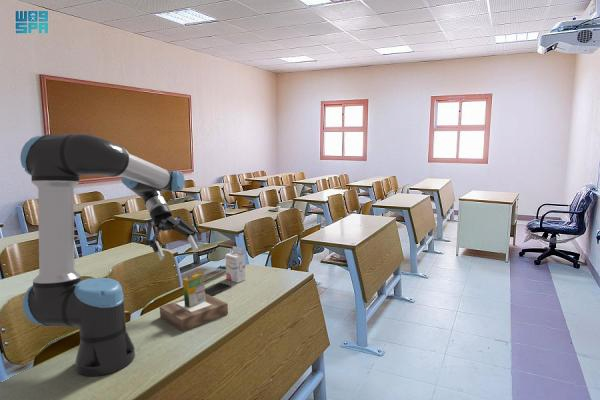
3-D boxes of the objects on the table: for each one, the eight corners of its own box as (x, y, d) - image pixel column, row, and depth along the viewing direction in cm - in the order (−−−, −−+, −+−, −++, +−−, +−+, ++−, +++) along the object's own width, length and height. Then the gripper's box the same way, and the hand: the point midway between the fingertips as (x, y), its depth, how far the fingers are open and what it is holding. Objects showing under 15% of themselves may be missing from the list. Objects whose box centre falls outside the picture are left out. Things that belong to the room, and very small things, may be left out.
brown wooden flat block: (182, 331, 130) (181, 318, 129) (160, 317, 141) (159, 305, 140) (228, 314, 142) (227, 302, 142) (204, 302, 153) (203, 291, 153)
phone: (192, 293, 161) (219, 282, 174) (193, 296, 162) (219, 285, 174) (206, 297, 157) (232, 285, 169) (206, 299, 157) (232, 288, 169)
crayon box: (200, 299, 145) (198, 268, 144) (205, 300, 144) (204, 270, 142) (184, 305, 140) (181, 274, 138) (189, 307, 138) (187, 275, 136)
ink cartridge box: (225, 279, 180) (224, 247, 178) (234, 276, 184) (232, 245, 182) (237, 283, 175) (235, 250, 173) (246, 280, 178) (244, 248, 176)
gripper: (185, 212, 166) (206, 252, 157) (124, 221, 149) (144, 267, 140) (190, 200, 162) (212, 242, 153) (128, 208, 144) (149, 255, 136)
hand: (179, 254), depth 147 cm, fingers open, 13 cm apart
